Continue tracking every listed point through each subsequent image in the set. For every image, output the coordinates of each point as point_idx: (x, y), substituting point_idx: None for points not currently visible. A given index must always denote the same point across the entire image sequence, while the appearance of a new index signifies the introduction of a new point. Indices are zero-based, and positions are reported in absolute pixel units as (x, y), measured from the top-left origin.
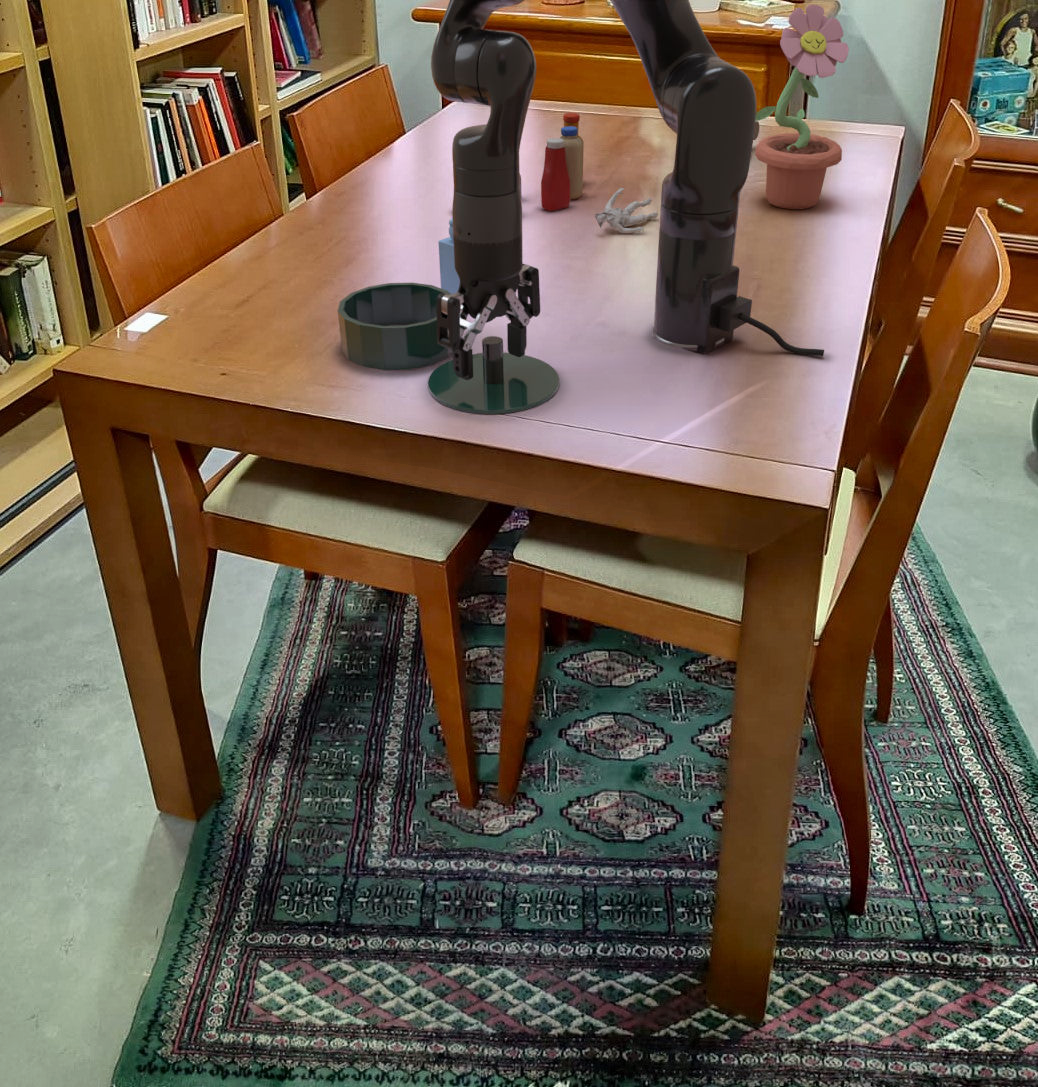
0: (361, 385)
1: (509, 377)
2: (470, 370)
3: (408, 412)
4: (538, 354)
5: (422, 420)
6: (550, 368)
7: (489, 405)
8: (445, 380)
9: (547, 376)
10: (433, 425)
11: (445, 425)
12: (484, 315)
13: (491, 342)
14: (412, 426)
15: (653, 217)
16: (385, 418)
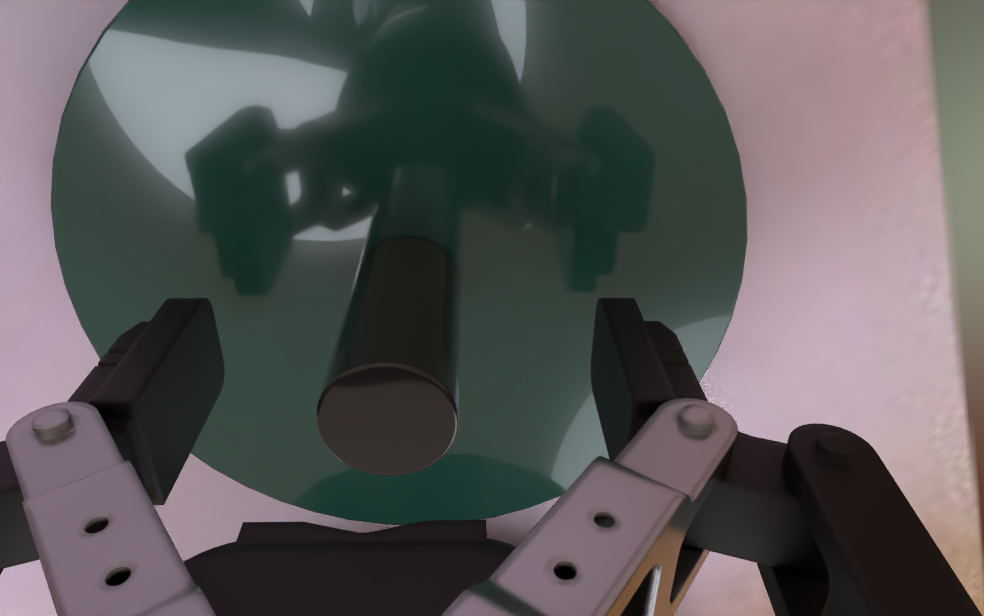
0: (731, 594)
1: (330, 246)
2: (631, 320)
3: (823, 359)
4: (4, 354)
5: (857, 271)
6: (72, 162)
7: (645, 95)
8: (569, 422)
9: (150, 102)
10: (876, 204)
11: (849, 163)
12: (575, 566)
13: (419, 406)
14: (927, 263)
15: None
16: (913, 383)
